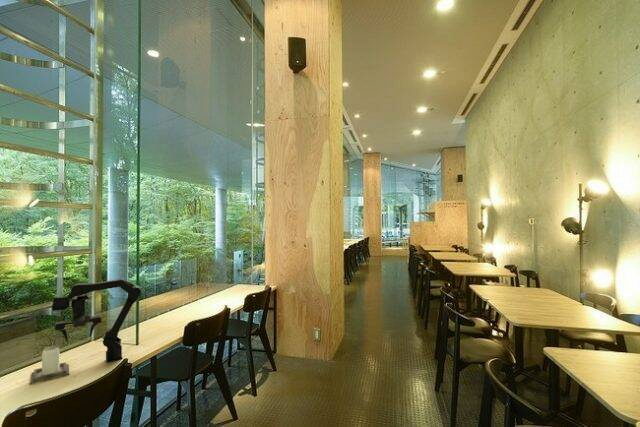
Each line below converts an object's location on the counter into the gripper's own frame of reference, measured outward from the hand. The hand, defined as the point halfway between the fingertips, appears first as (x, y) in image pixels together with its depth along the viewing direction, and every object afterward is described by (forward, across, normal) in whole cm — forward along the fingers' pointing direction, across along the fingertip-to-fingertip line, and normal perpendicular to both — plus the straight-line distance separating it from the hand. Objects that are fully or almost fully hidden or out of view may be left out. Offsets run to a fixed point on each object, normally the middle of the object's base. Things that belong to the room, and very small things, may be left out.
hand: (78, 339), depth 164 cm
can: (+13, -11, -3) cm, 17 cm away
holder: (+13, -11, -3) cm, 17 cm away
